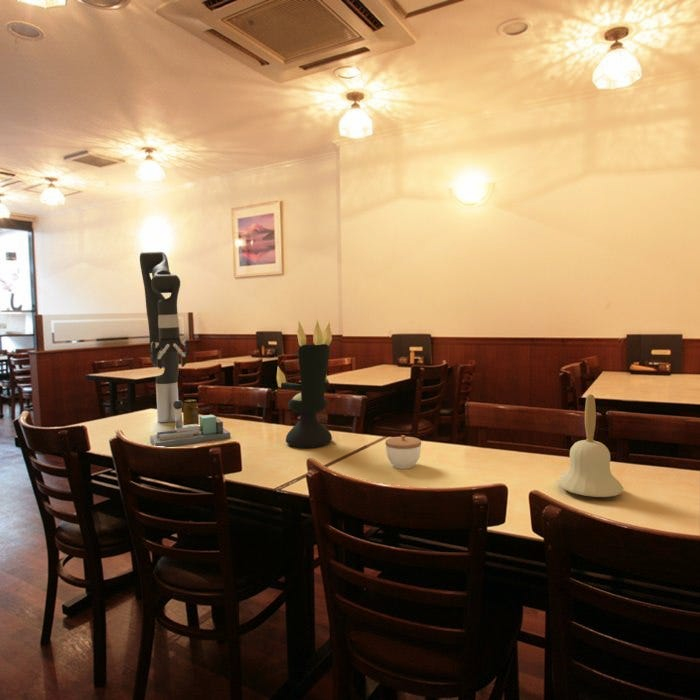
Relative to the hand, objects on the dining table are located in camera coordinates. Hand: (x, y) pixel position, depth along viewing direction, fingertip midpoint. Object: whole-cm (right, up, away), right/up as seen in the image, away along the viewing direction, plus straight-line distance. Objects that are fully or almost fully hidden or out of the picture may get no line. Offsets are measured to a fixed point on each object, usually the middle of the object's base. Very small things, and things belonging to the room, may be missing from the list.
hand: (171, 367), depth 198 cm
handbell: (+131, -29, -70) cm, 151 cm away
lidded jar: (+86, -29, -45) cm, 101 cm away
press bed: (+9, -27, -6) cm, 29 cm away
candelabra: (+57, -27, -17) cm, 65 cm away
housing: (+15, -25, -3) cm, 29 cm away
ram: (+9, -25, -7) cm, 27 cm away
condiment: (+4, -26, +12) cm, 29 cm away
